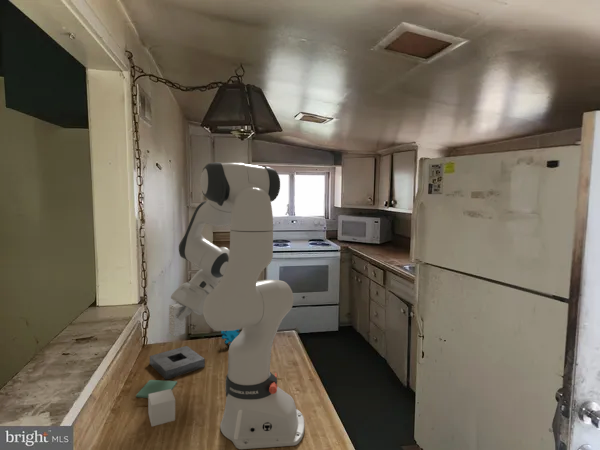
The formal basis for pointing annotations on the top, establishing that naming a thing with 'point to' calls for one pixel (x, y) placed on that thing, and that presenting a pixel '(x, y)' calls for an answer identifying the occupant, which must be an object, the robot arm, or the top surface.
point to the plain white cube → (161, 407)
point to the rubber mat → (155, 387)
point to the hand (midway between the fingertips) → (175, 317)
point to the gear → (230, 335)
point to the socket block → (176, 362)
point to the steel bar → (176, 319)
